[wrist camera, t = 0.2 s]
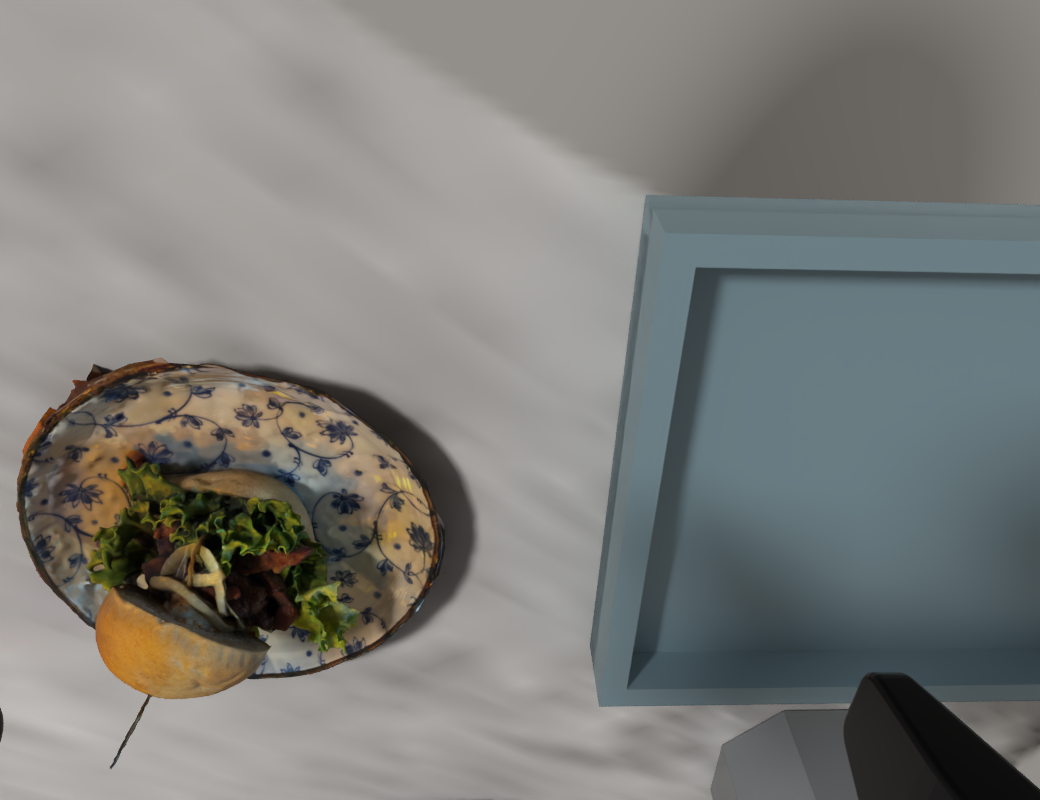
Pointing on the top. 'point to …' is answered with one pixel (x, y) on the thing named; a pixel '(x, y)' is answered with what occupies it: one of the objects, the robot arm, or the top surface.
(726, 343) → the tray
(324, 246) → the top surface
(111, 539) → the burger
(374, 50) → the top surface
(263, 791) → the top surface
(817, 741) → the cup
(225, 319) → the top surface
